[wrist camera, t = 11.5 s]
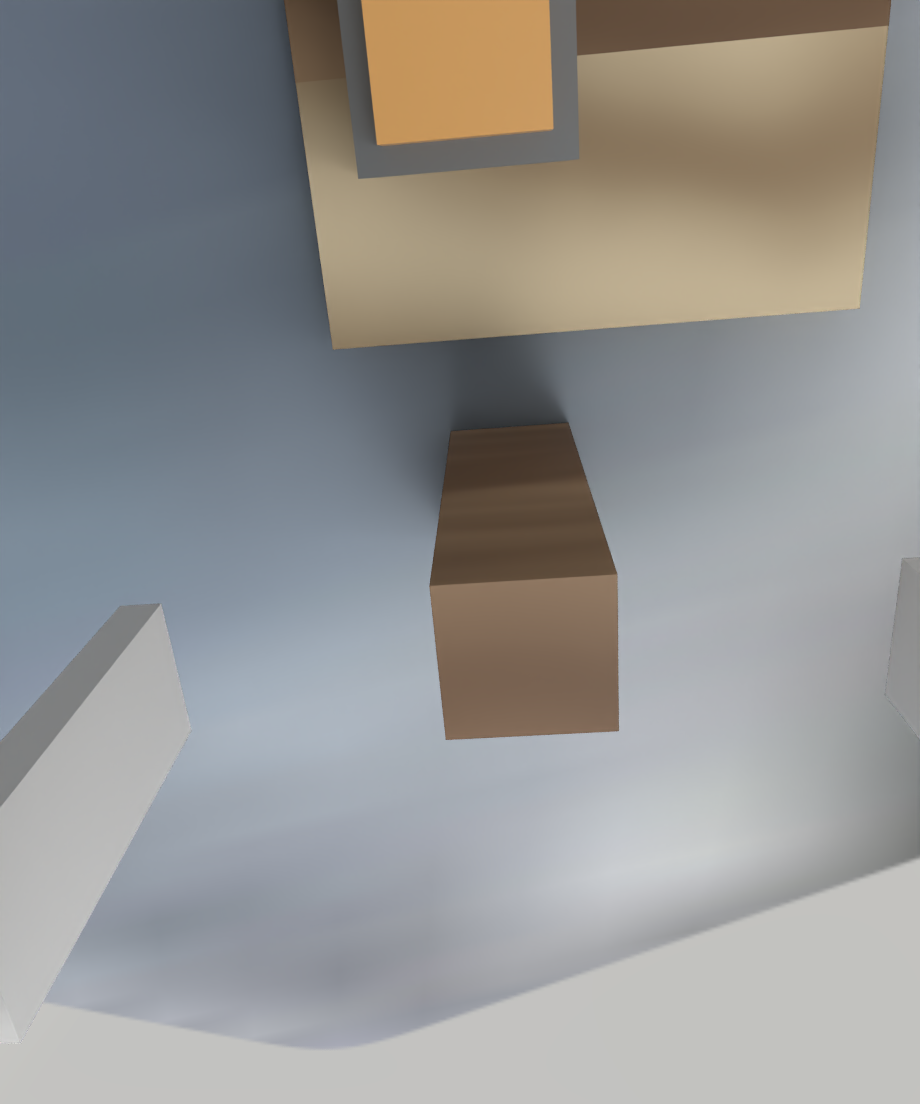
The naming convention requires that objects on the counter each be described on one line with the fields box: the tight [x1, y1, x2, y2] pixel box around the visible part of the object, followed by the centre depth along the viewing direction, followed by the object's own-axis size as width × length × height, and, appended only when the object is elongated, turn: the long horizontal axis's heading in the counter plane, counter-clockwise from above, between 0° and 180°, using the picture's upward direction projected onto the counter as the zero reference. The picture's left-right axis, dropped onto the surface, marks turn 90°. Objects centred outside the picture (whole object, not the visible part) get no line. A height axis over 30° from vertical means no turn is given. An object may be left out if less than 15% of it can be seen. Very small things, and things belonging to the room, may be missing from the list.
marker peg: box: [429, 423, 619, 740], centre depth 18 cm, size 3×3×9 cm
